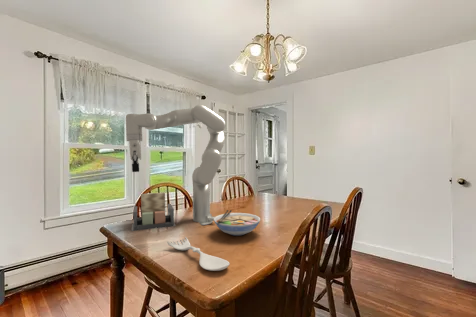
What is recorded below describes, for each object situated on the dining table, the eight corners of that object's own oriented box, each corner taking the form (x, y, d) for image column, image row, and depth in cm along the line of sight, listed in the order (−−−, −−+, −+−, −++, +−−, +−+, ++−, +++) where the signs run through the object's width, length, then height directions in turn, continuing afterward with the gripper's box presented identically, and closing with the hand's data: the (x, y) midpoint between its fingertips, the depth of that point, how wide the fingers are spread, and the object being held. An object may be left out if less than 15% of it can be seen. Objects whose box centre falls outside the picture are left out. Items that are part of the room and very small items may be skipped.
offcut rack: (172, 221, 133) (172, 203, 133) (175, 228, 120) (175, 208, 120) (132, 226, 125) (132, 206, 125) (131, 234, 112) (131, 212, 112)
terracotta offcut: (164, 223, 124) (164, 210, 124) (165, 225, 121) (165, 212, 121) (154, 224, 123) (154, 211, 122) (155, 226, 119) (155, 213, 119)
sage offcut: (152, 225, 122) (152, 211, 122) (153, 227, 118) (152, 213, 118) (142, 226, 120) (142, 212, 120) (142, 228, 117) (142, 214, 116)
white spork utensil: (185, 243, 101) (185, 235, 101) (235, 269, 78) (235, 259, 78) (166, 249, 95) (166, 240, 95) (213, 279, 72) (213, 268, 71)
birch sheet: (164, 221, 129) (164, 192, 129) (165, 222, 127) (164, 193, 127) (141, 223, 124) (141, 194, 124) (141, 224, 122) (141, 194, 122)
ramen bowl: (257, 244, 99) (257, 225, 99) (206, 240, 103) (206, 222, 103) (262, 227, 123) (262, 211, 123) (221, 224, 128) (221, 209, 128)
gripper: (142, 136, 114) (144, 171, 114) (142, 139, 130) (143, 170, 130) (125, 136, 111) (127, 172, 111) (127, 139, 127) (128, 170, 127)
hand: (135, 171), depth 121 cm, fingers open, 9 cm apart
